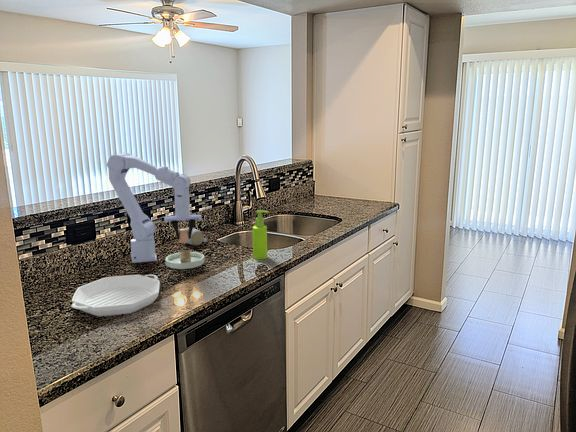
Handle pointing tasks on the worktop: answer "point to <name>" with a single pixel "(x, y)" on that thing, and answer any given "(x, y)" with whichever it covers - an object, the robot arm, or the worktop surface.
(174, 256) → the groove tray
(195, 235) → the ceramic mug
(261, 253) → the soap dispenser
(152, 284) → the pan
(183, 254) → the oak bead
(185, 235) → the peach rounded oval piece
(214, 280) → the worktop surface
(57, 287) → the worktop surface
